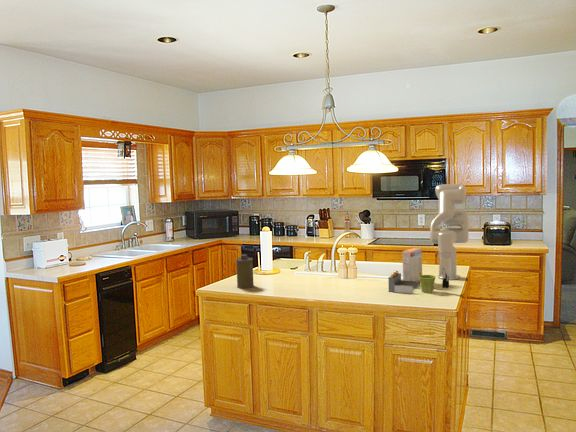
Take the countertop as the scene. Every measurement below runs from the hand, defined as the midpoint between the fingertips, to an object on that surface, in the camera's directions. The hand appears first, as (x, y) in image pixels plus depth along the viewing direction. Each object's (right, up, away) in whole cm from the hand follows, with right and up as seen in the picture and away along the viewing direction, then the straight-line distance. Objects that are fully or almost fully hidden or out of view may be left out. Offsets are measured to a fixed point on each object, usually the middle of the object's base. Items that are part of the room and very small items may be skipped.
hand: (445, 287), depth 258 cm
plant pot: (-9, -3, +5) cm, 11 cm away
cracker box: (-11, -2, +26) cm, 28 cm away
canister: (-113, -5, +35) cm, 118 cm away
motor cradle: (-21, -3, +12) cm, 24 cm away
